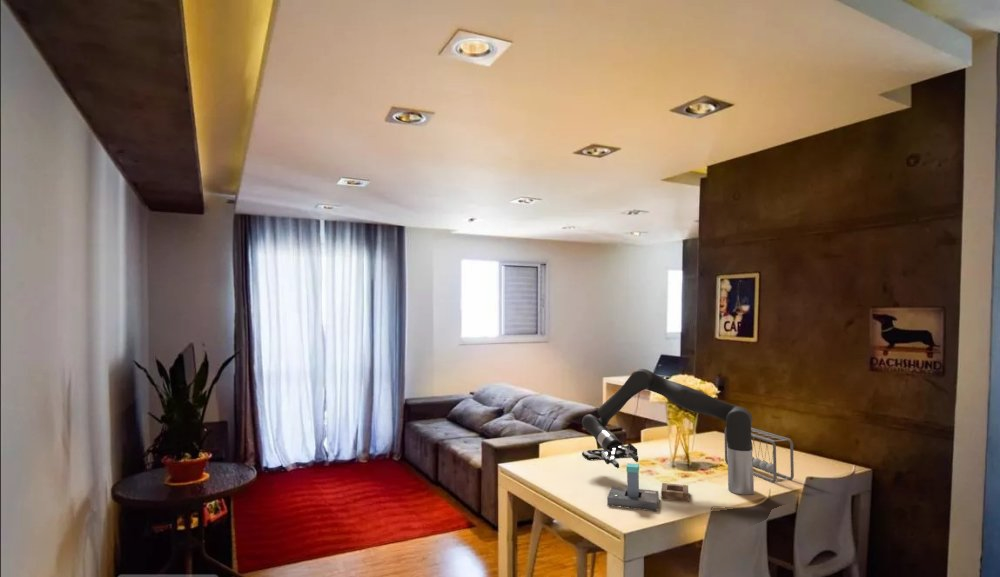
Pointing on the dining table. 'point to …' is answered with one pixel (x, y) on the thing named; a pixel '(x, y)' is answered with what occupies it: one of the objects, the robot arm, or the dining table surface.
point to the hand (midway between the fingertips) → (627, 463)
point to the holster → (674, 492)
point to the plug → (632, 480)
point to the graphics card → (595, 454)
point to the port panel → (633, 499)
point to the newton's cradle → (764, 464)
